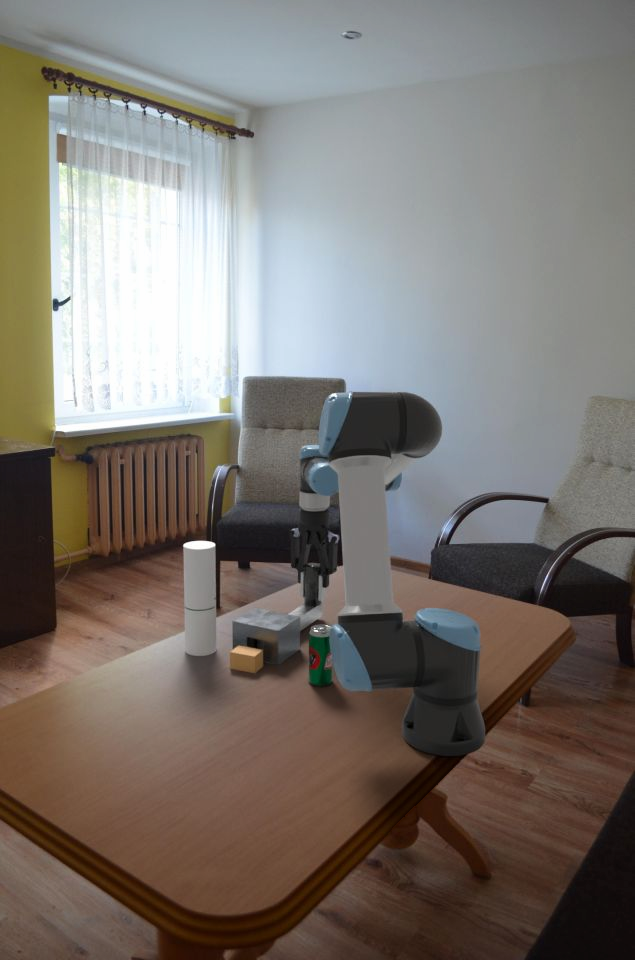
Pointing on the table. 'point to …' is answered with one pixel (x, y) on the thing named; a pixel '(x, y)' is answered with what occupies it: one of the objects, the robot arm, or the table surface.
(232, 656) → the block
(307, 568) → the shaft
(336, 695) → the table surface
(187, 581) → the cylindrical container
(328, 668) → the soda can
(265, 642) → the block
